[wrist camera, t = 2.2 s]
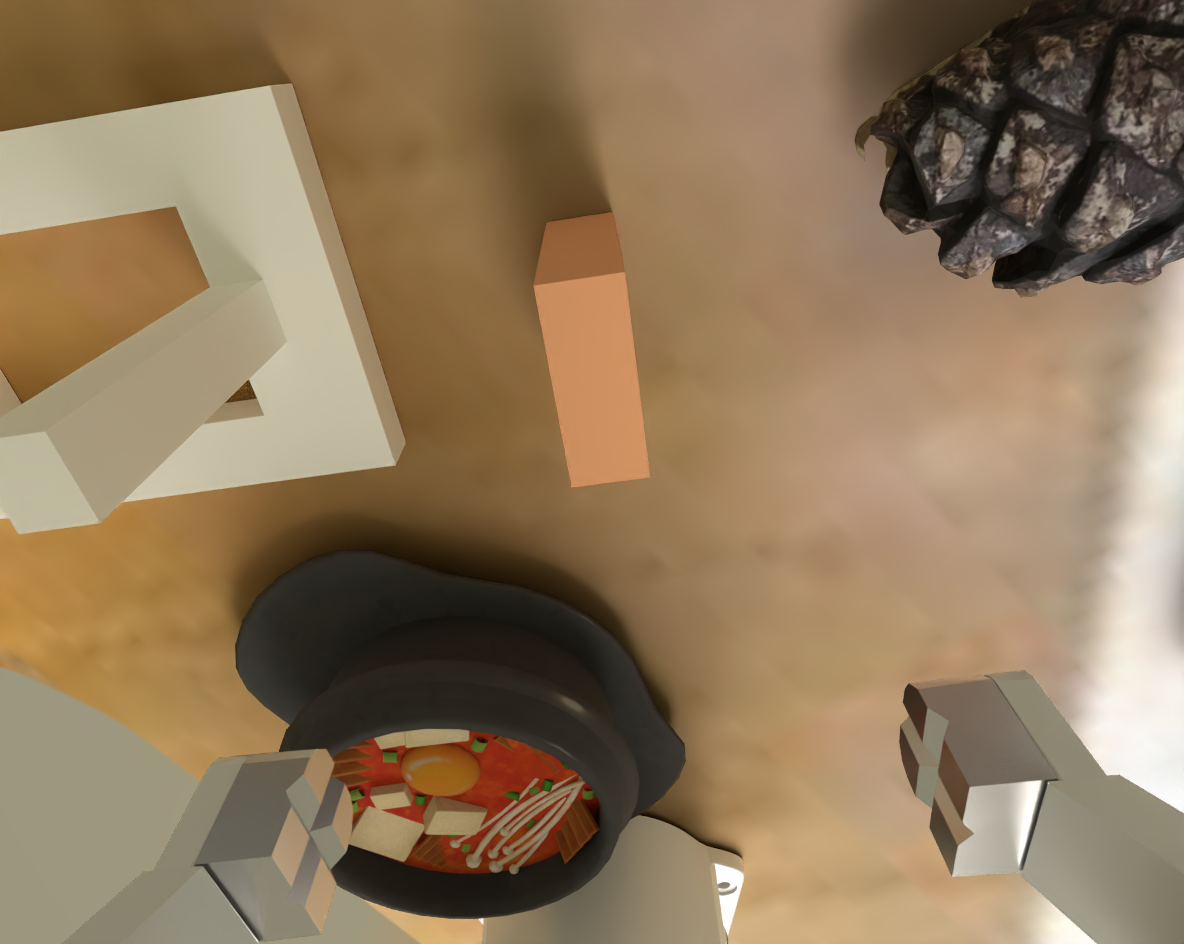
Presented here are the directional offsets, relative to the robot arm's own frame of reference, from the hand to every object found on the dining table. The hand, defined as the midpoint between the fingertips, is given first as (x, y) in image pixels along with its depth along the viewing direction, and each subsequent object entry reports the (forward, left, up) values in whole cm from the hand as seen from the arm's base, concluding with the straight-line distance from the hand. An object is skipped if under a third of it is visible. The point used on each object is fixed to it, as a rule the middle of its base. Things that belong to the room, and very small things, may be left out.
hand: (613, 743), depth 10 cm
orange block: (0, 0, -21) cm, 21 cm away
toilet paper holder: (+2, +19, -21) cm, 28 cm away
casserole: (-21, +9, -21) cm, 31 cm away
